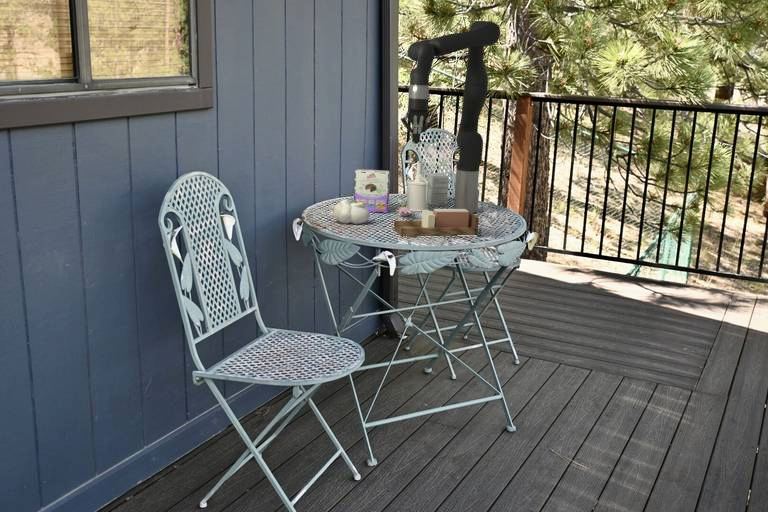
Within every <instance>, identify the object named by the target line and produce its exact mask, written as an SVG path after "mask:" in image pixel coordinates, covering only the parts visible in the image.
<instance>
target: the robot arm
mask: <svg viewBox="0 0 768 512" xmlns="http://www.w3.org/2000/svg"><path fill="white" fill-rule="evenodd" d="M500 37H501V28H500V26H499V25H498V24H497V23H496V22H493V21H490V20H475V21H474V22H473V23H471V25H470V27H469V30H468V31H461V32H454V33H448V34H444V35H441V36H438V37H437V36H436V37H435V38H434V37H433V38H431V39H429V38H428V39H423V40H419V41H414V42H412V43H411V44H410V45H409V47H407V55H408V58H409V59H410V60H411V61H413V62H416V63H417V64H416V67H415V68H412V69H411V70H410V74H409V75H410V76H409V88H408V93H407V96H408V98H407V99H408V102H407V111H406V114H405V115H404V117H401V118H400V121H401V122H402V125H403V126H404V127H405V129H406V130H407V131H408V132H410V133H411V140H412V141H411V142H412V143H413V144H417V145H418V144H419V143H420V141H421V134H422V133H426V131H427V130H428V129H429V128H430V127H431V125H432V124H433V123H434V122H435V121H434V119H432V118H431V117H430V114H429V98H430V97H429V96H430V95H429V94H430V90H429V81H430V73H431V69H432V66H433V64H434V61H435V60H434V59H435V58H436V57H442V56H446V55H450V54H452V53H456V52H459V51H462V50H467V61H466V73H465V78H464V79H465V81H464V84H463V85H464V87H463V97H462V107H461V116H460V121H459V126H458V131H457V135H456V145H457V147H458V149H459V158H458V160H457V162H456V171H455V182H454V185H455V186H454V196H453V197H454V199H453V201H454V202H453V209H466V210H467V211H470V212H471V213H473V214H475V213H474V212H478V210H479V201H480V200H479V197H480V189H479V179H480V178H479V176H480V166H481V164H482V159H483V153H484V152H483V150H484V140H483V139H484V138H483V137H482V136H483V135H481V133H479V130H478V129H479V119H480V115H481V113H482V110H483V107H484V105H485V102H486V99H487V95H488V87H489V76H488V72H487V69H486V66H485V61H484V51H485V50H484V49H485V46H486V47H487V46H493V45H495V44H496V43H497V42H498V41H499V39H500ZM408 122H410V124H411V125H410V124H409V123H408ZM425 122H426V123H425ZM424 123H425V124H424ZM423 124H424V125H423Z"/></svg>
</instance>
